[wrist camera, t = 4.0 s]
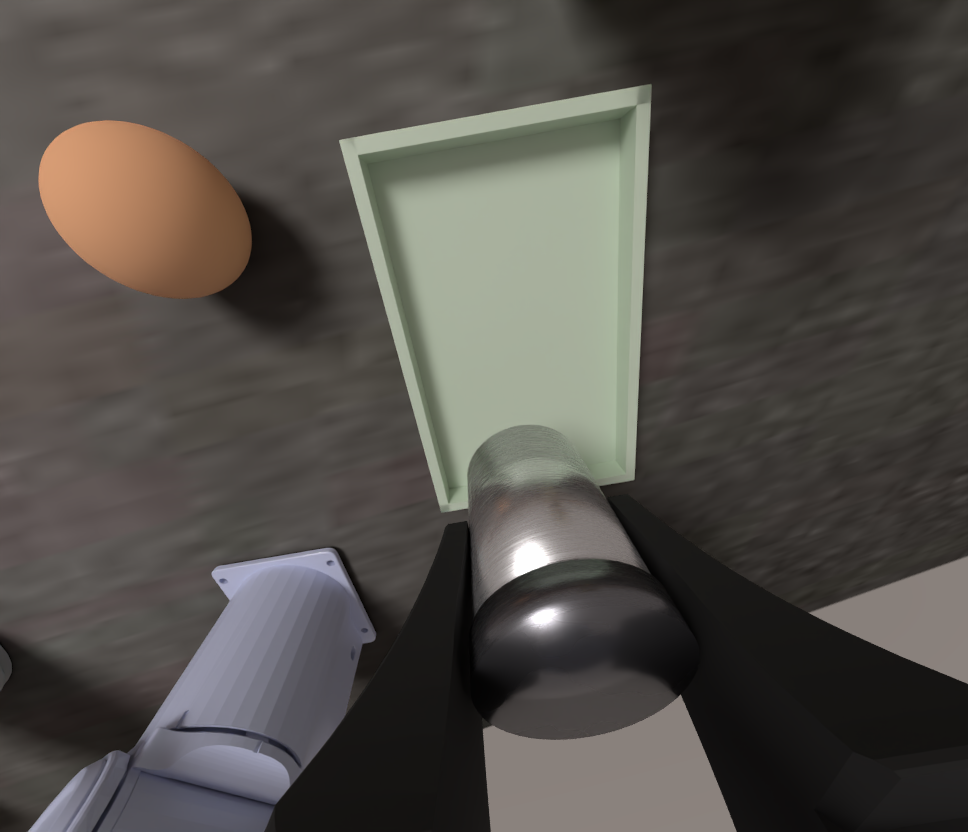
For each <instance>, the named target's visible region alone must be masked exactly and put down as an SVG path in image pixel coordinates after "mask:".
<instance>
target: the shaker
mask: <svg viewBox="0 0 968 832" xmlns="http://www.w3.org/2000/svg"><path fill="white" fill-rule="evenodd" d="M467 486H468V511H469V537H470V562H471V588H472V613H473V621H472V624H471V626H470V632H469V657H470V692H471V699H472V702H473V705H474V706H475V708H476V710H477V711H478V713H479V714H480V715H481V716H482V717H483V718H484V719H485V720H486V721H488V722H489V723H490V724H492V725H494V726H495V727H497V728H499V729H501V730H504V731H506V732H509V733H512V734H515V735H519V736H524V737H529V738H536V739H551V740H556V739H557V740H560V739H576V738H584V737H590V736H595V735H600V734H605V733H608V732H612V731H615V730H619V729H622V728H624V727H627V726H630V725H632V724H635V723H637V722H639V721H642V720H644V719H646V718H648V717H649V716H652V715H653V714H655V713H657V712H658V711H660V710H662V709H663V708H665V707H666V706H667V705H669V704H670V703H671V702H673V701H674V700H675V699H676V698H677V697H678V696H679V695H681V694H682V692H683V691H684V690H685V689H686V688H687V687H688V686H689V684H690V683H691V681H692V680H693V678H694V676H695V674H696V672H697V670H698V666H699V662H700V650H699V646H698V643H697V641H696V639H695V637H694V635H693V633H692V632H691V630H690V628H689V627H688V625H687V623H686V622H685V620H684V618H683V617H682V615H681V614H680V612H679V610H678V609H677V607H676V605H675V604H674V602H673V600H672V599H671V597H670V596H669V594H668V592H667V591H666V589H665V588H664V586H663V585H662V584H661V583H660V582H659V581H658V580H657V579H656V578H655V577H654V576H652V575H651V573H650V571H649V570H648V568H647V566H646V565H645V563H644V561H643V560H642V558H641V556H640V555H639V553H638V551H637V550H636V548H635V546H634V545H633V543H632V541H631V540H630V538H629V536H628V534H627V533H626V531H625V529H624V528H623V526H622V524H621V523H620V521H619V519H618V518H617V516H616V514H615V513H614V511H613V509H612V508H611V506H610V504H609V502H608V501H607V499H606V497H605V496H604V494H603V492H602V491H601V489H600V487H599V486H598V484H597V482H596V481H595V479H594V477H593V476H592V474H591V472H590V471H589V469H588V467H587V465H586V464H585V462H584V460H583V459H582V457H581V455H580V454H579V452H578V450H577V449H576V447H575V446H574V444H573V443H572V442H571V441H570V440H569V439H568V438H567V437H566V436H565V435H563V434H562V433H560V432H558V431H556V430H555V429H552V428H549V427H546V426H541V425H519V426H514V427H510V428H507V429H504V430H502V431H500V432H498V433H496V434H494V435H492V436H491V437H490V438H488V439H487V440H486V441H485V442H483V443H482V444H481V445H480V447H479V448H478V449H477V450H476V452H475V453H474V455H473V456H472V459H471V461H470V463H469V467H468V472H467Z"/></svg>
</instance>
